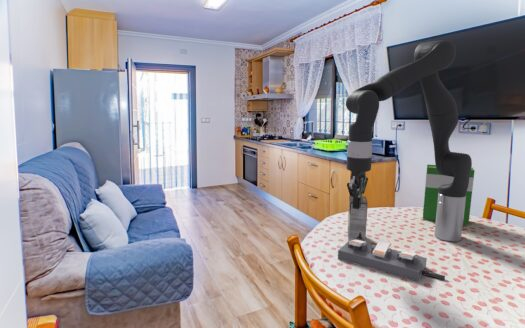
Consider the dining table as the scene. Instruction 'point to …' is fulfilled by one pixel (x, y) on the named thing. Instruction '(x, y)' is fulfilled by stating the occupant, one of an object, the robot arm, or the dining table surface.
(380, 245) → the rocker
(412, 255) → the rocker
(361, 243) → the block
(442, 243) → the dining table surface
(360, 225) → the coffee box
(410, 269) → the power strip
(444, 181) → the hardback book
